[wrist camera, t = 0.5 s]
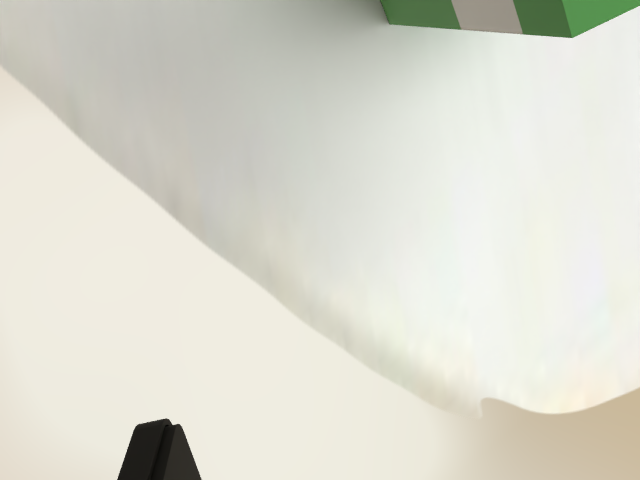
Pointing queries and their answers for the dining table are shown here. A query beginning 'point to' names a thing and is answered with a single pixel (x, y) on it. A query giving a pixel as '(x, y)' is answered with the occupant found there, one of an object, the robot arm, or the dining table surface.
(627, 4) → the hardback book
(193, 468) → the robot arm
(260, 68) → the dining table surface
